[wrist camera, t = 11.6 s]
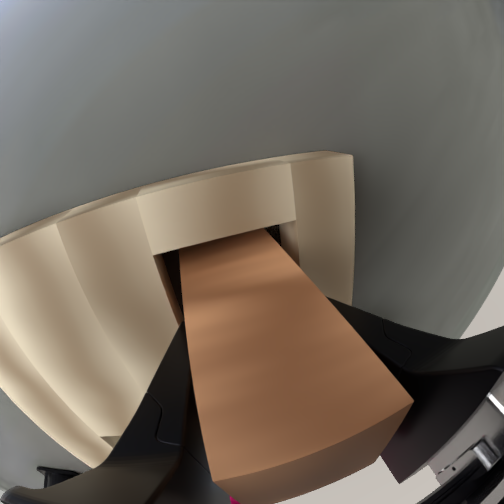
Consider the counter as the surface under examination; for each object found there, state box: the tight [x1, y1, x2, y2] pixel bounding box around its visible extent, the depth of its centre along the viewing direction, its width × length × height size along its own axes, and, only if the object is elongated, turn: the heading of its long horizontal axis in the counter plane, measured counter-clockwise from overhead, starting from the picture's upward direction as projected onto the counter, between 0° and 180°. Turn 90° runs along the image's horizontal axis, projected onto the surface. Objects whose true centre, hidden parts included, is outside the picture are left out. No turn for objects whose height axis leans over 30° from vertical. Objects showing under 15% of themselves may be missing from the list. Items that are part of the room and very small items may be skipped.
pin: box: [179, 228, 414, 504], centre depth 8 cm, size 4×4×9 cm
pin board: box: [0, 150, 355, 468], centre depth 14 cm, size 20×24×2 cm
